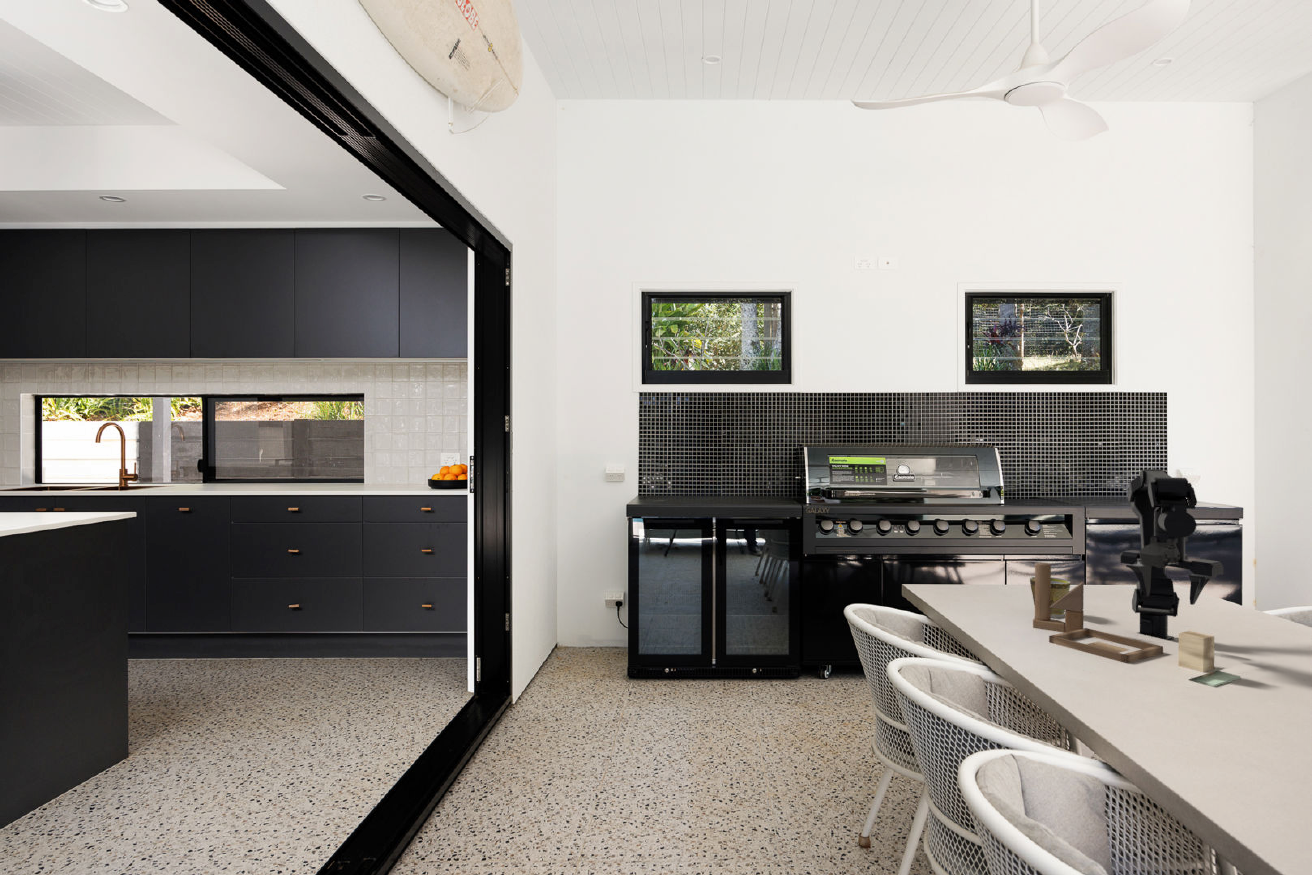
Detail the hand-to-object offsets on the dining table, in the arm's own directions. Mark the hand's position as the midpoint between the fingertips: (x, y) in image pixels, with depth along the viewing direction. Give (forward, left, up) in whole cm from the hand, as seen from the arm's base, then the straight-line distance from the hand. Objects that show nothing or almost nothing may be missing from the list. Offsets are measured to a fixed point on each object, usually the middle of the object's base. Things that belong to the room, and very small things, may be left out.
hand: (1169, 600), depth 158 cm
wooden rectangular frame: (+11, -8, -13) cm, 19 cm away
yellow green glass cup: (-13, -37, -13) cm, 41 cm away
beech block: (+8, +9, -13) cm, 17 cm away
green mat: (+8, +9, -13) cm, 18 cm away
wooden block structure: (+6, -22, -13) cm, 26 cm away
